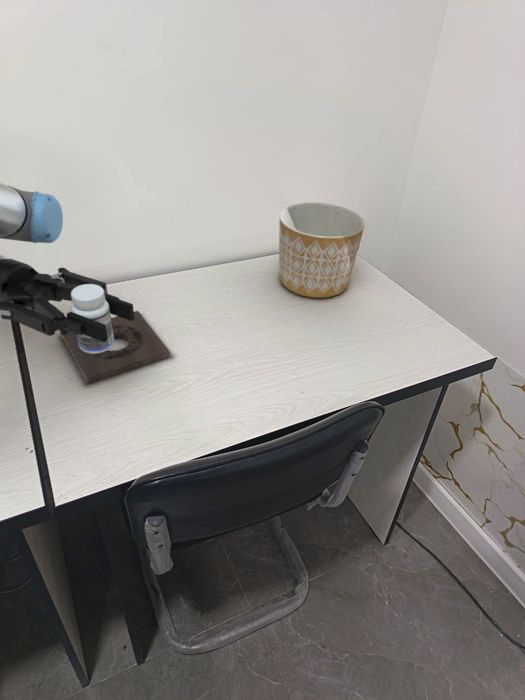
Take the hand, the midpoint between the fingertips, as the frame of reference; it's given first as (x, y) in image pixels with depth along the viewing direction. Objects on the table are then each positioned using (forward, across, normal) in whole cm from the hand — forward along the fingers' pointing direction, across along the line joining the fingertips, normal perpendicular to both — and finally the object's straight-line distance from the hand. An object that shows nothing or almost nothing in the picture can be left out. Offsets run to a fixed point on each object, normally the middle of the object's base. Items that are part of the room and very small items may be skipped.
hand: (118, 322), depth 73 cm
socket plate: (-13, -12, -18) cm, 26 cm away
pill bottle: (-5, 0, -6) cm, 8 cm away
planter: (+11, -57, -18) cm, 61 cm away
